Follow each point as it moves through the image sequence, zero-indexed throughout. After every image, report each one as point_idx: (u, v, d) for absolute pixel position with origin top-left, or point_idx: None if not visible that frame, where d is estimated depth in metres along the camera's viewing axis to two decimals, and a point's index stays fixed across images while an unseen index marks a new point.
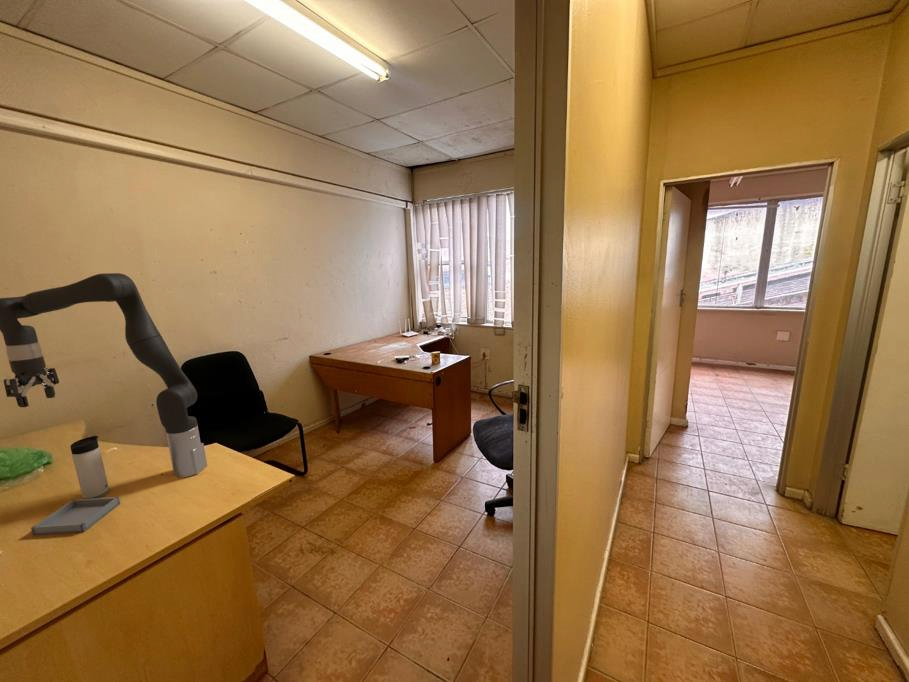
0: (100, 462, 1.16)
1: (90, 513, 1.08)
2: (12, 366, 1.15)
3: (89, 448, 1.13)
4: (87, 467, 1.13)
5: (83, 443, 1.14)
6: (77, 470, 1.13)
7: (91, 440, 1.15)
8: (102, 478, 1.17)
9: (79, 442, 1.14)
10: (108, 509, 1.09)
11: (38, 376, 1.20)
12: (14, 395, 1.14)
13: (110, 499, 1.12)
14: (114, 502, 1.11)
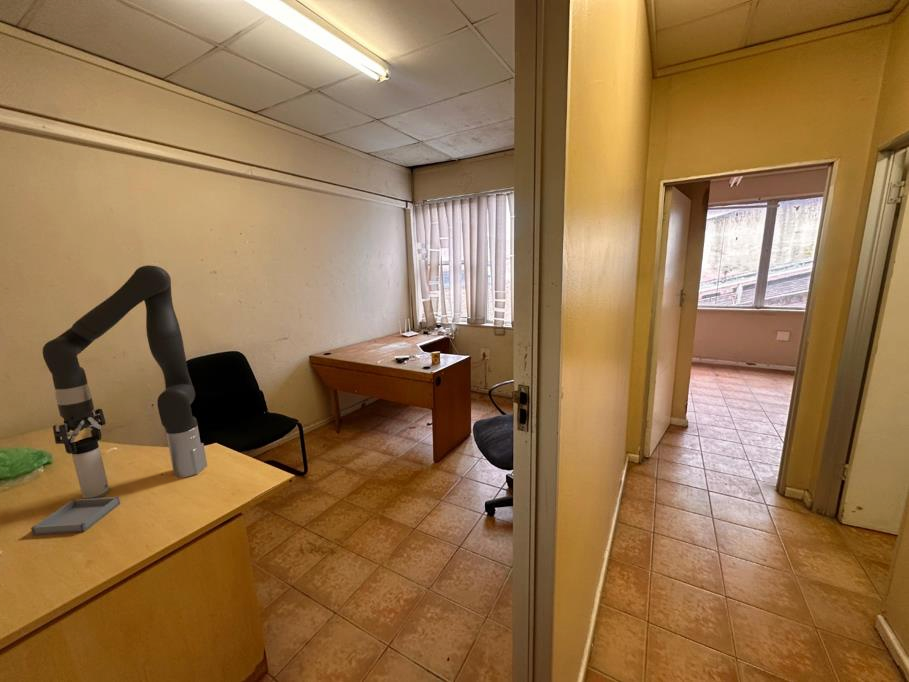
0: (100, 462, 1.16)
1: (90, 513, 1.08)
2: (61, 410, 1.08)
3: (89, 448, 1.13)
4: (87, 467, 1.13)
5: (83, 443, 1.14)
6: (77, 470, 1.13)
7: (91, 440, 1.15)
8: (102, 478, 1.17)
9: (79, 442, 1.14)
10: (108, 509, 1.09)
11: (86, 419, 1.13)
12: (63, 442, 1.06)
13: (110, 499, 1.12)
14: (114, 502, 1.11)
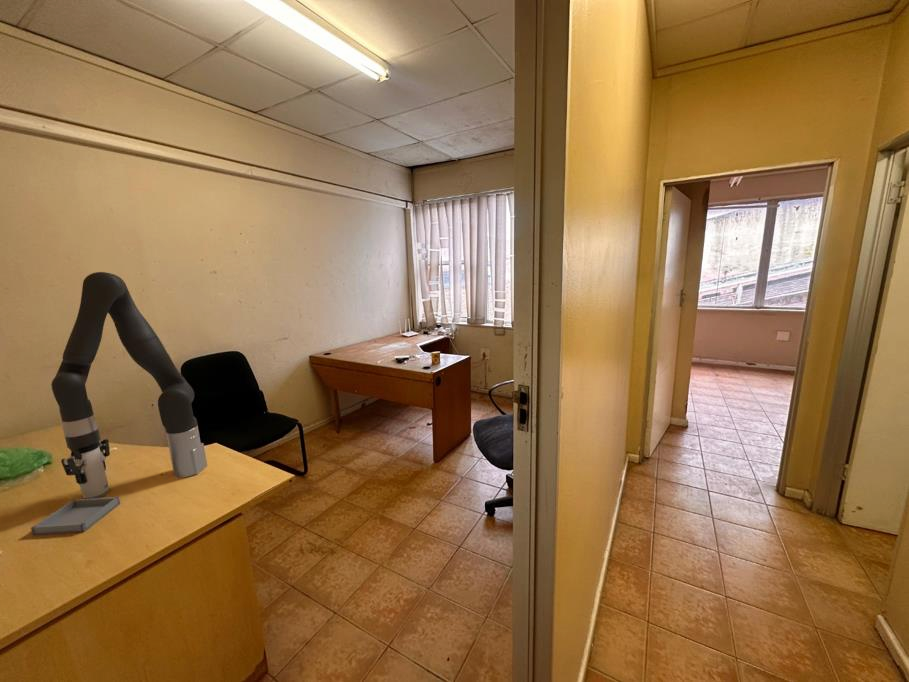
0: (100, 462, 1.16)
1: (90, 513, 1.08)
2: (68, 442, 1.10)
3: (89, 448, 1.13)
4: (87, 467, 1.13)
5: None
6: None
7: None
8: (102, 478, 1.17)
9: None
10: (108, 509, 1.09)
11: None
12: (74, 474, 1.09)
13: (110, 499, 1.12)
14: (114, 502, 1.11)
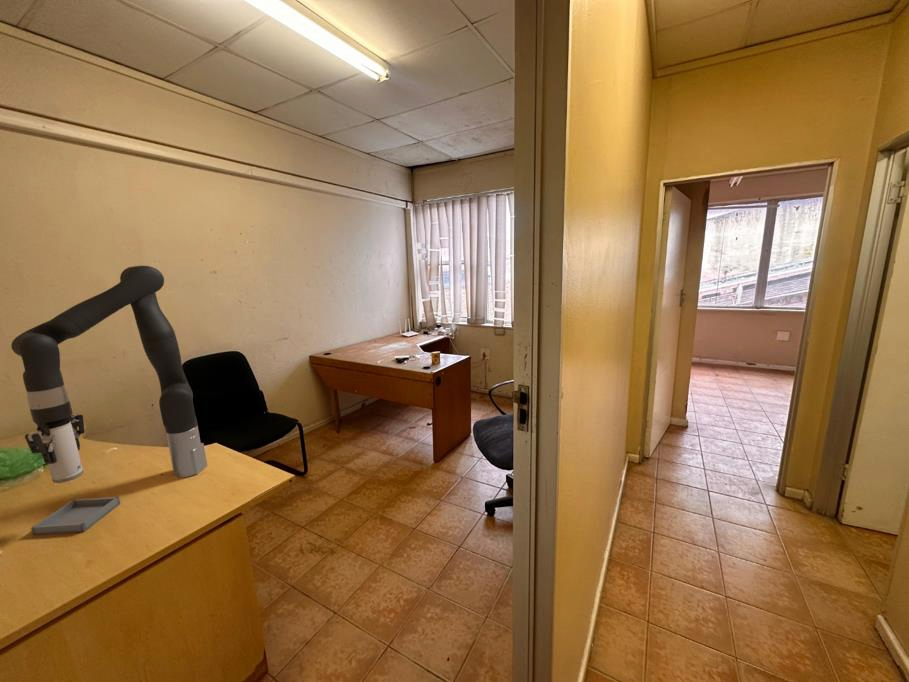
0: (72, 440, 1.02)
1: (90, 513, 1.08)
2: (34, 416, 0.96)
3: (58, 423, 0.99)
4: (56, 444, 0.99)
5: None
6: None
7: None
8: (74, 457, 1.03)
9: None
10: (108, 509, 1.09)
11: None
12: (40, 451, 0.96)
13: (110, 499, 1.12)
14: (114, 502, 1.11)
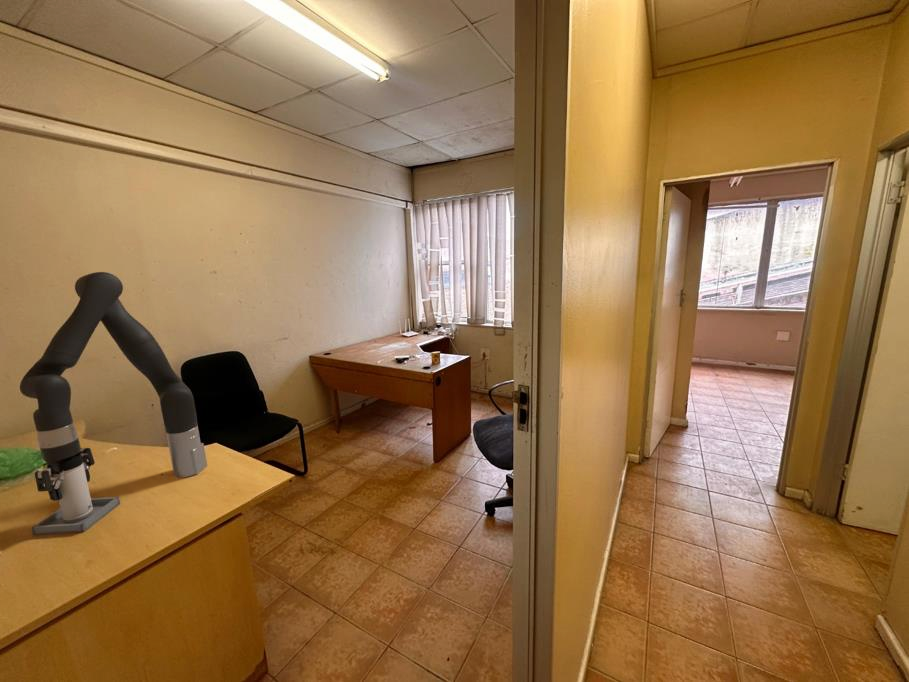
0: (83, 480, 1.05)
1: None
2: (44, 454, 0.98)
3: (72, 465, 1.02)
4: (68, 486, 1.02)
5: None
6: None
7: (74, 456, 1.04)
8: (85, 498, 1.05)
9: None
10: (108, 509, 1.09)
11: None
12: (47, 489, 0.97)
13: (110, 499, 1.12)
14: (114, 502, 1.11)
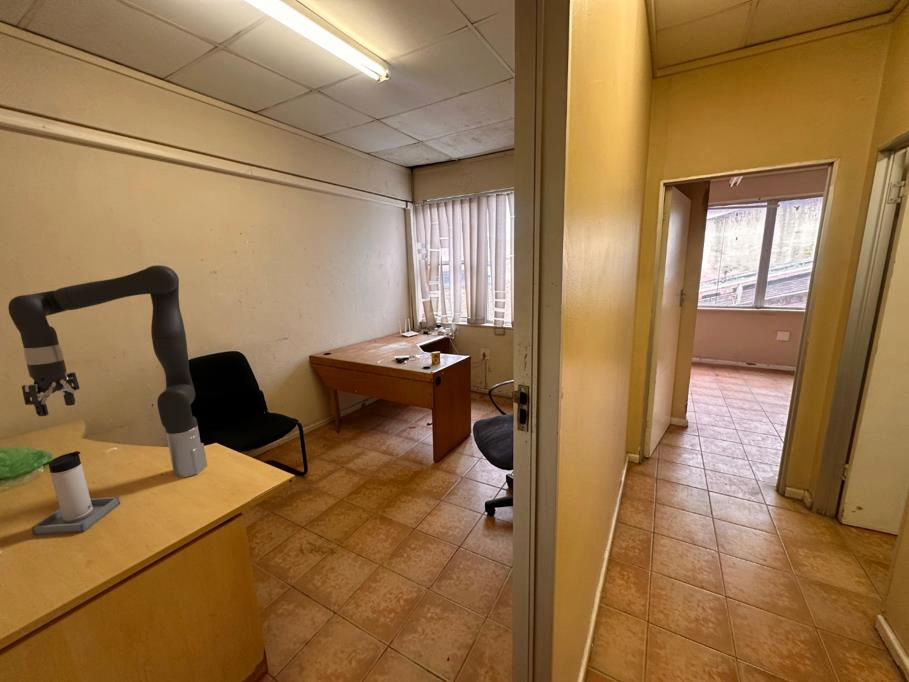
0: (82, 481, 1.05)
1: None
2: (31, 371, 1.04)
3: (70, 465, 1.02)
4: (67, 487, 1.02)
5: (63, 460, 1.03)
6: (56, 490, 1.01)
7: (72, 456, 1.04)
8: (84, 498, 1.05)
9: (59, 459, 1.03)
10: (108, 509, 1.09)
11: (58, 381, 1.09)
12: (33, 403, 1.02)
13: (110, 499, 1.12)
14: (114, 502, 1.11)
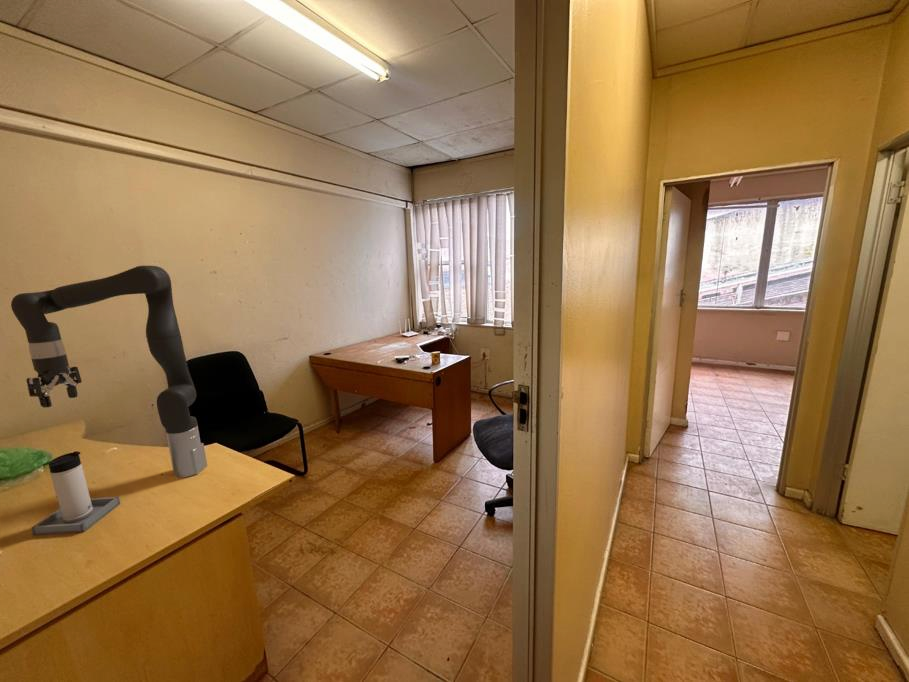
0: (82, 481, 1.05)
1: None
2: (35, 364, 1.10)
3: (70, 466, 1.02)
4: (67, 487, 1.02)
5: (63, 460, 1.02)
6: (56, 490, 1.01)
7: (72, 456, 1.04)
8: (84, 498, 1.05)
9: (59, 459, 1.03)
10: (108, 509, 1.09)
11: (61, 375, 1.15)
12: (37, 395, 1.09)
13: (110, 499, 1.12)
14: (114, 502, 1.11)
